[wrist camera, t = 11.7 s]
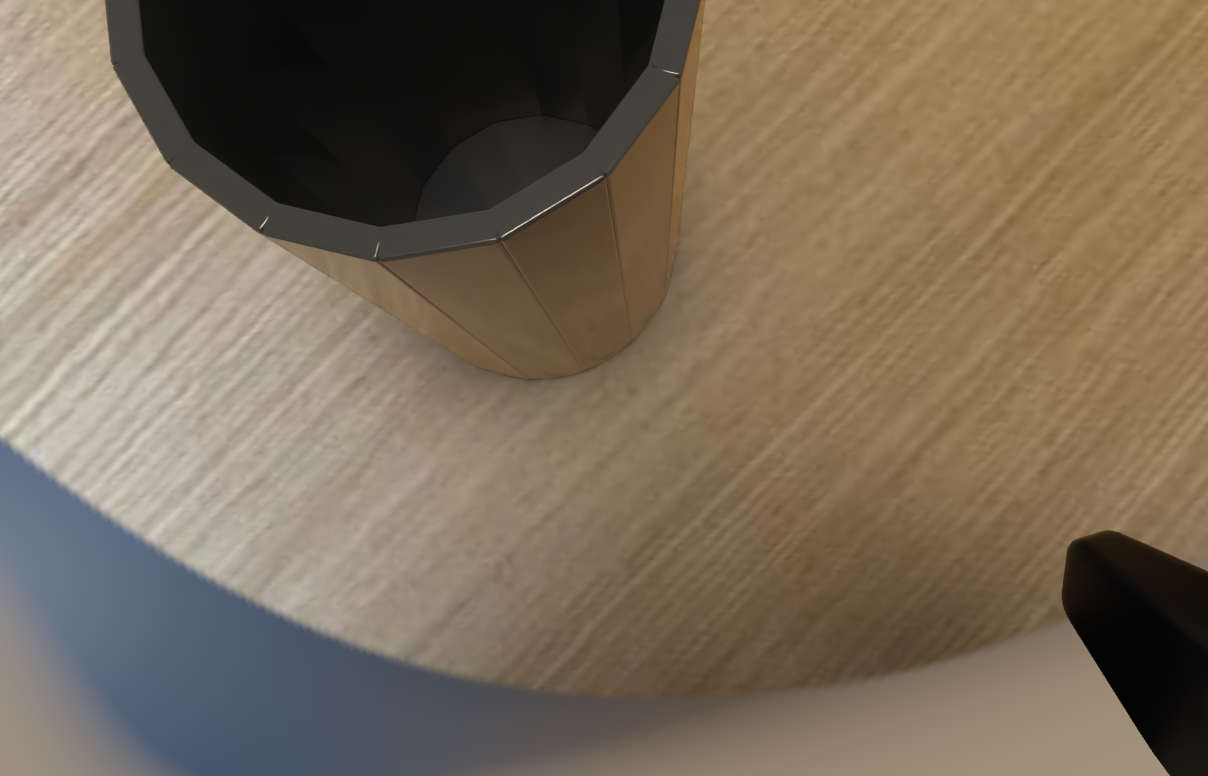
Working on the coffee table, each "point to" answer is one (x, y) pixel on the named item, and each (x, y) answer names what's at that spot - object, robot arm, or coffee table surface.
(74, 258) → the coffee table surface
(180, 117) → the pen cup
